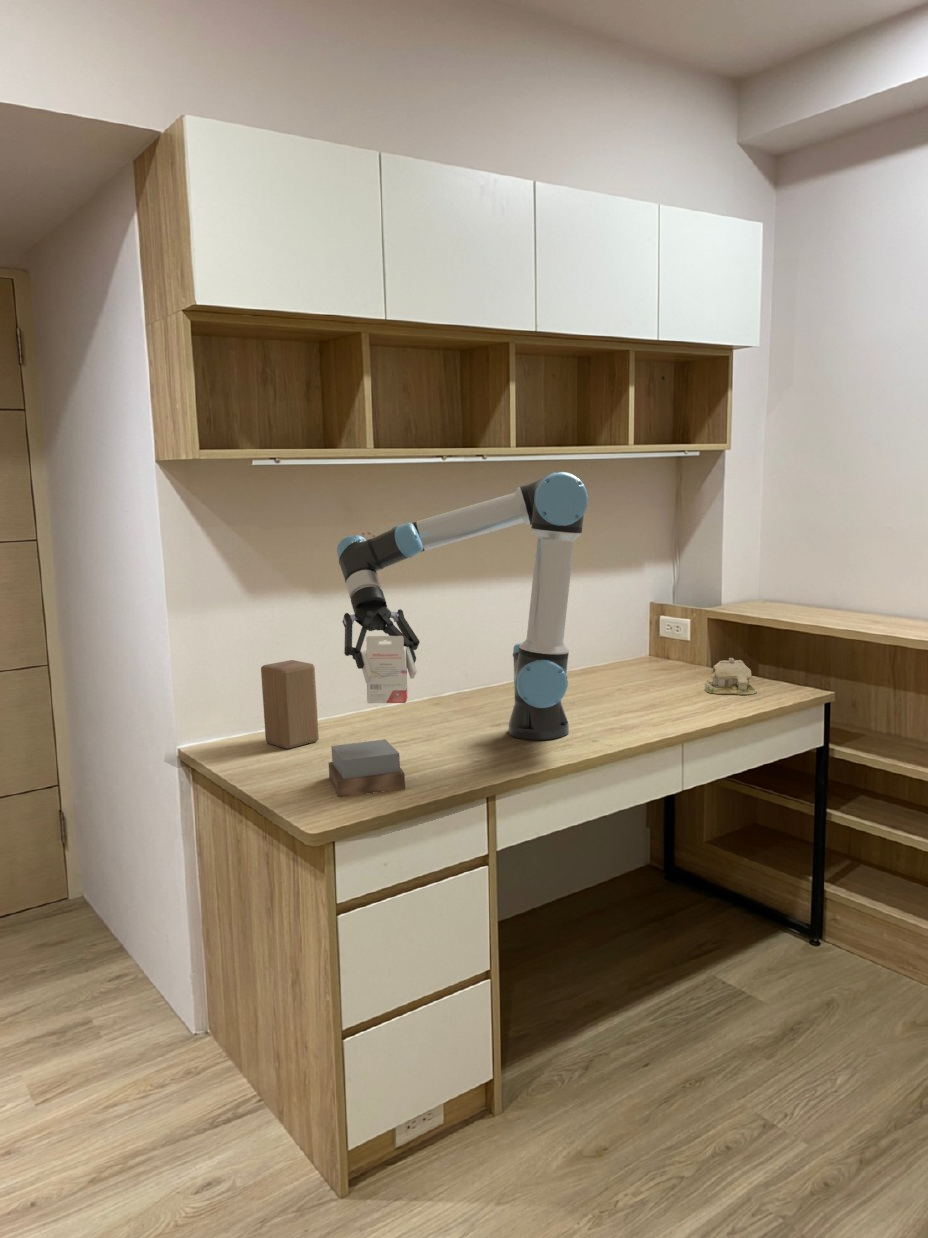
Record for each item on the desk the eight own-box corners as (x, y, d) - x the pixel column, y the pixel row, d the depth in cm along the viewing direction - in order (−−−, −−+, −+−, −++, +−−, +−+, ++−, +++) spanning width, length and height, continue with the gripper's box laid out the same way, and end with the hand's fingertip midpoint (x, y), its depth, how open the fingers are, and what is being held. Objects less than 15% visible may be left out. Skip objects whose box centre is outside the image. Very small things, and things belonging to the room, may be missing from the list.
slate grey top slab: (386, 756, 207) (385, 739, 206) (400, 771, 196) (399, 753, 195) (332, 763, 203) (331, 745, 203) (343, 779, 192) (342, 760, 191)
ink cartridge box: (407, 698, 206) (407, 632, 203) (406, 703, 201) (405, 636, 199) (369, 698, 206) (367, 632, 204) (366, 703, 201) (365, 636, 199)
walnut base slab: (392, 772, 209) (391, 755, 208) (405, 791, 195) (404, 773, 195) (329, 780, 205) (328, 762, 204) (338, 800, 192) (337, 781, 191)
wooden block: (264, 743, 234) (259, 665, 231) (297, 735, 241) (292, 658, 238) (286, 750, 227) (281, 669, 224) (320, 741, 234) (315, 663, 231)
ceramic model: (750, 687, 278) (750, 654, 276) (759, 695, 267) (760, 661, 265) (702, 688, 279) (702, 655, 277) (709, 696, 268) (709, 662, 266)
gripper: (408, 602, 219) (434, 681, 207) (316, 608, 210) (338, 692, 198) (416, 582, 213) (443, 662, 201) (321, 587, 204) (345, 672, 192)
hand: (391, 677), depth 200 cm, fingers closed on ink cartridge box, 9 cm apart
